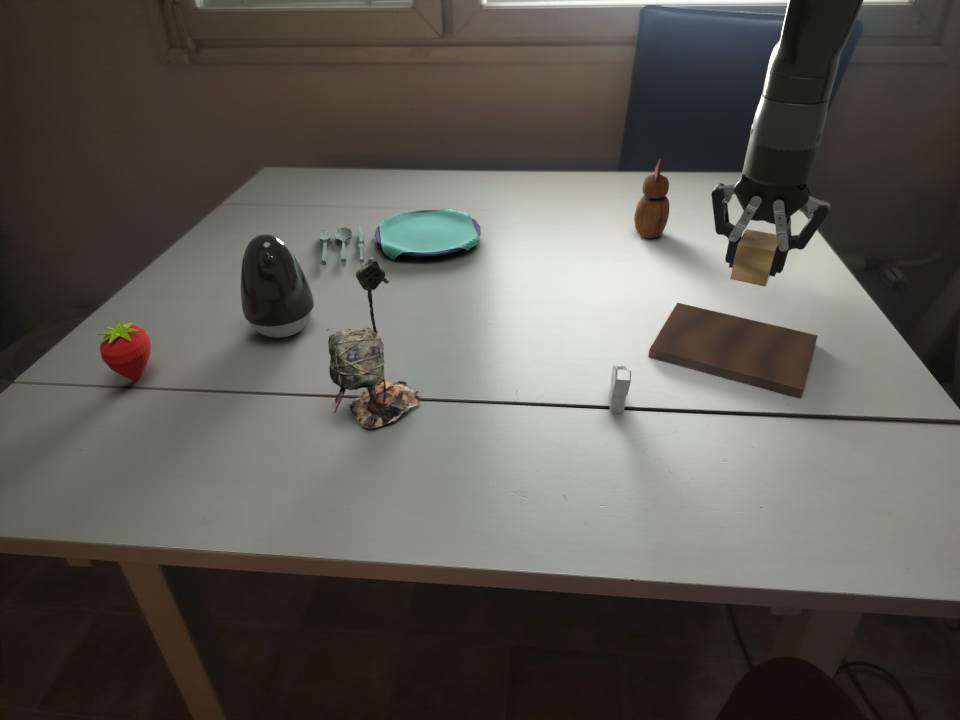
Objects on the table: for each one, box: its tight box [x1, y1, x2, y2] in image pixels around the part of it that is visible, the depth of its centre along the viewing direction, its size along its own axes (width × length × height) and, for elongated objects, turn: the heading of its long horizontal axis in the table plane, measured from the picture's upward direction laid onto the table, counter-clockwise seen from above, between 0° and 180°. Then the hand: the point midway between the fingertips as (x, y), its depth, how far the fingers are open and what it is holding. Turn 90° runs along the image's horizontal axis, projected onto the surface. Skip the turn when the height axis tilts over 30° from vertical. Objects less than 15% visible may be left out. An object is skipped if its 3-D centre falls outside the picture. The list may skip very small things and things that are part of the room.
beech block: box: [729, 228, 778, 287], centre depth 85 cm, size 4×5×5 cm
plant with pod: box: [326, 257, 421, 430], centre depth 79 cm, size 8×11×20 cm
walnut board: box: [647, 302, 818, 399], centre depth 94 cm, size 20×14×2 cm
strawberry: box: [97, 317, 151, 382], centre depth 88 cm, size 6×8×10 cm
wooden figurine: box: [633, 158, 670, 239], centre depth 121 cm, size 7×6×15 cm
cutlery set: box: [319, 208, 482, 266], centre depth 124 cm, size 20×30×2 cm, turn 99°
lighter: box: [609, 364, 632, 414], centre depth 82 cm, size 7×2×8 cm, turn 171°
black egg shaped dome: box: [240, 233, 315, 339], centre depth 97 cm, size 10×10×15 cm
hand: (752, 269), depth 86 cm, fingers closed on beech block, 4 cm apart
